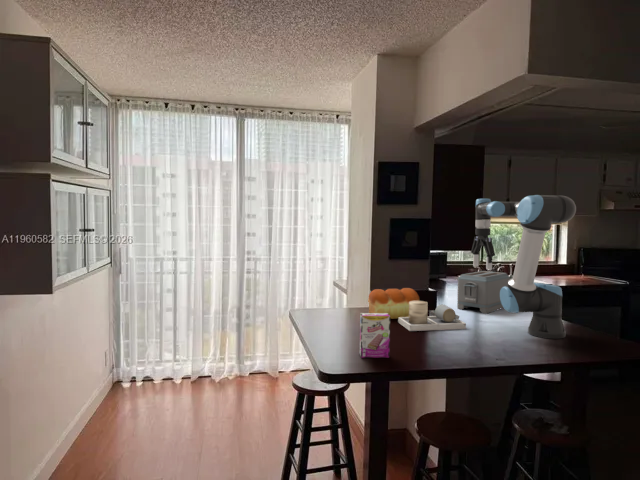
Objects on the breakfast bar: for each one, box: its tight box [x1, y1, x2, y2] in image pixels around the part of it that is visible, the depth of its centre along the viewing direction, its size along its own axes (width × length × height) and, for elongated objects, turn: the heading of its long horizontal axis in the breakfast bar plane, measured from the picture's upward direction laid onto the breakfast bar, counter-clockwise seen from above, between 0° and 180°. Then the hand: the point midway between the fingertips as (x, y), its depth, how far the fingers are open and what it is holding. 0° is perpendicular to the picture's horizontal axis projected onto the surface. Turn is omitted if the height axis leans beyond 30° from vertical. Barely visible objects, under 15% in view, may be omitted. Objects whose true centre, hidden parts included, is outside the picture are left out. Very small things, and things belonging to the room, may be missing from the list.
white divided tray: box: [397, 316, 467, 332], centre depth 214 cm, size 17×28×3 cm, turn 98°
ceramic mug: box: [435, 304, 460, 322], centre depth 215 cm, size 11×8×8 cm
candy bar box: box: [359, 312, 391, 359], centre depth 166 cm, size 11×5×16 cm, turn 92°
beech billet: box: [409, 300, 429, 325], centre depth 213 cm, size 9×9×10 cm
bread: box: [367, 287, 421, 320], centre depth 235 cm, size 25×12×15 cm, turn 103°
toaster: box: [456, 270, 511, 314], centre depth 255 cm, size 19×33×20 cm, turn 133°
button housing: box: [428, 309, 436, 316], centre depth 229 cm, size 8×8×4 cm
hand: (482, 267), depth 230 cm, fingers open, 13 cm apart
